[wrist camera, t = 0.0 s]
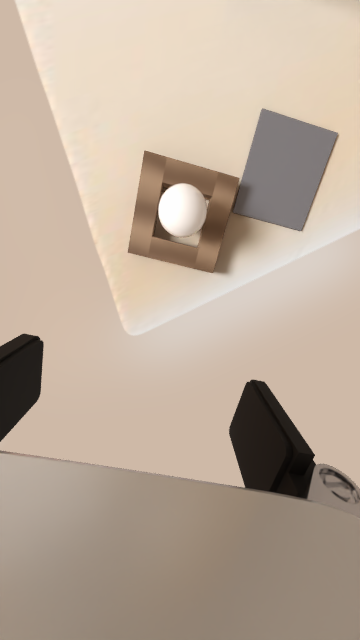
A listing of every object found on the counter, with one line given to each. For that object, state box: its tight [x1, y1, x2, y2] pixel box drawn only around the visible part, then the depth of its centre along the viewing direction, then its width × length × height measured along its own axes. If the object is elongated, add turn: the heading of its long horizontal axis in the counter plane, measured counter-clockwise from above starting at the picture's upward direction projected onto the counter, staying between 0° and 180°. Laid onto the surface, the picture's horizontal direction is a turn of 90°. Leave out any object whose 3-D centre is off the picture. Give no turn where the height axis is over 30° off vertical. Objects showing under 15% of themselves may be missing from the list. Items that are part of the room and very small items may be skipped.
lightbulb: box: [158, 183, 207, 237], centre depth 32 cm, size 6×6×11 cm
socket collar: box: [128, 151, 239, 273], centre depth 35 cm, size 14×14×3 cm
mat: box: [233, 109, 338, 231], centre depth 35 cm, size 14×12×1 cm
